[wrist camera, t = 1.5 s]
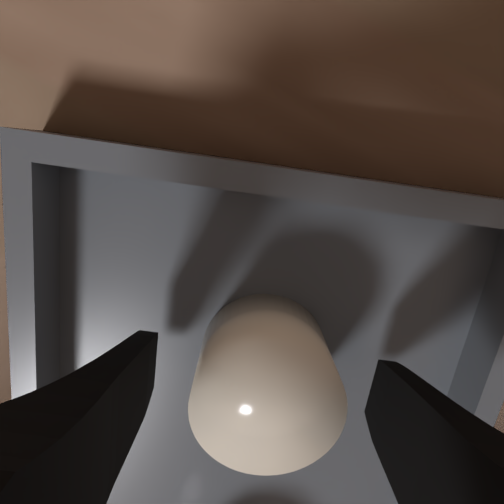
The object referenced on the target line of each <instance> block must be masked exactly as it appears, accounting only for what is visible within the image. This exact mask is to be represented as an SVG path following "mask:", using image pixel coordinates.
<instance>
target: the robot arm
mask: <svg viewBox="0 0 504 504" xmlns="http://www.w3.org/2000/svg"><path fill="white" fill-rule="evenodd" d="M157 344H158V332H151V331H142V330H139V331H137V332H136V333H134V334H132V335H131V336H130V337H128V338H127V339H125V340H124V341H122V342H121V343H119V344H118V345H116V346H115V347H113V348H112V349H110V350H109V351H107V352H106V353H104V354H102V355H101V356H99V357H98V358H96V359H94V360H93V361H91V362H89V363H87V364H86V365H84V366H82V367H81V368H79V369H77V370H75V371H74V372H72V373H70V374H68V375H66V376H64V377H62V378H60V379H58V380H56V381H54V382H52V383H50V384H48V385H46V386H43V387H41V388H39V389H37V390H35V391H32V392H30V393H27V394H25V395H22V396H19V397H17V398H14V399H12V400H9V401H6V402H4V403H1V404H0V504H107V501H108V499H109V496H110V494H111V491H112V489H113V486H114V484H115V482H116V479H117V477H118V475H119V473H120V471H121V469H122V466H123V464H124V462H125V460H126V458H127V455H128V453H129V451H130V449H131V447H132V444H133V442H134V440H135V438H136V436H137V433H138V431H139V429H140V427H141V424H142V422H143V420H144V418H145V415H146V412H147V409H148V406H149V402H150V399H151V396H152V393H153V389H154V382H155V369H156V357H157ZM364 413H365V417H366V421H367V425H368V429H369V432H370V435H371V439H372V442H373V445H374V447H375V450H376V452H377V455H378V457H379V459H380V462H381V464H382V467H383V469H384V471H385V474H386V476H387V479H388V481H389V483H390V486H391V488H392V490H393V493H394V495H395V498H396V500H397V502H398V504H504V433H502V432H500V431H499V430H497V429H495V428H494V427H492V426H490V425H489V424H487V423H486V422H484V421H483V420H481V419H480V418H478V417H477V416H475V415H474V414H472V413H470V412H469V411H467V410H466V409H464V408H463V407H462V406H460V405H459V404H457V403H456V402H454V401H453V400H451V399H450V398H449V397H447V396H446V395H444V394H443V393H442V392H440V391H439V390H437V389H436V388H435V387H433V386H432V385H431V384H429V383H428V382H426V381H425V380H424V379H422V378H421V377H419V376H418V375H417V374H415V373H414V372H412V371H411V370H409V369H408V368H406V367H405V366H403V365H402V364H400V363H398V362H396V361H388V360H379V359H378V363H377V366H376V370H375V374H374V377H373V381H372V385H371V388H370V392H369V396H368V400H367V403H366V407H365V411H364Z"/></svg>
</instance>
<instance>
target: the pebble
mask: <svg viewBox="0 0 504 504" xmlns="http://www.w3.org/2000/svg"><path fill="white" fill-rule="evenodd" d="M347 406H348V403H347V396H346V392H345V389H344V385H343V383H342V381H341V378H340V376H339V373H338V371H337V368H336V366H335V363H334V361H333V358H332V356H331V353H330V351H329V349H328V346H327V344H326V341H325V339H324V336H323V334H322V331H321V329H320V327H319V325H318V323H317V321H316V320H315V318H314V317H313V316H312V315H311V313H310V312H309V311H308V310H307V309H305V308H304V307H303V306H302V305H300V304H298V303H297V302H295V301H293V300H291V299H289V298H286V297H283V296H279V295H274V294H255V295H249V296H245V297H242V298H239V299H237V300H235V301H233V302H231V303H229V304H228V305H226V306H225V307H223V308H222V309H221V310H220V311H219V312H218V313H217V314H216V315H215V316H214V317H213V319H212V320H211V321H210V323H209V325H208V327H207V329H206V331H205V334H204V338H203V342H202V346H201V350H200V354H199V359H198V363H197V367H196V371H195V375H194V379H193V384H192V388H191V392H190V397H189V402H188V417H189V423H190V426H191V430H192V432H193V434H194V436H195V438H196V440H197V441H198V443H199V444H200V446H201V447H202V448H203V449H204V450H205V451H206V452H207V453H208V454H209V455H210V456H211V457H212V458H213V459H215V460H216V461H218V462H219V463H221V464H223V465H225V466H226V467H228V468H231V469H233V470H236V471H239V472H243V473H246V474H252V475H263V476H270V475H280V474H286V473H290V472H294V471H297V470H299V469H302V468H304V467H306V466H308V465H310V464H312V463H314V462H315V461H317V460H318V459H320V458H321V457H322V456H323V455H325V454H326V453H327V452H328V451H329V450H330V449H331V448H332V446H333V445H334V444H335V443H336V441H337V440H338V438H339V437H340V435H341V433H342V431H343V428H344V425H345V422H346V417H347Z"/></svg>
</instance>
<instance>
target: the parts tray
mask: <svg viewBox="0 0 504 504" xmlns="http://www.w3.org/2000/svg"><path fill="white" fill-rule="evenodd" d="M0 146H1V169H2V191H3V214H4V237H5V260H6V283H7V305H8V328H9V351H10V374H11V397H12V399H14V398H17V397H19V396H22V395H25V394H27V393H30V392H32V391H35V390H37V389H39V388H41V387H43V386H46V385H48V384H50V383H52V382H54V381H56V380H58V379H60V378H62V377H64V376H66V375H68V374H70V373H72V372H74V371H75V370H77V369H79V368H81V367H82V366H84V365H86V364H87V363H89V362H91V361H93V360H94V359H96V358H98V357H99V356H101V355H102V354H104V353H106V352H107V351H109V350H110V349H112V348H113V347H115V346H116V345H118V344H119V343H121V342H122V341H124V340H125V339H127V338H128V337H130V336H131V335H132V334H134V333H136V332H137V331H139V330H142V331H151V332H158V344H157V357H156V369H155V382H154V389H153V393H152V396H151V399H150V402H149V406H148V409H147V412H146V415H145V418H144V420H143V422H142V424H141V427H140V429H139V431H138V433H137V436H136V438H135V440H134V442H133V444H132V447H131V449H130V451H129V453H128V455H127V458H126V460H125V462H124V464H123V466H122V469H121V471H120V473H119V475H118V477H117V479H116V482H115V484H114V486H113V489H112V491H111V494H110V496H109V499H108V501H107V504H398V502H397V500H396V498H395V495H394V493H393V490H392V488H391V486H390V483H389V481H388V479H387V476H386V474H385V471H384V469H383V467H382V464H381V462H380V459H379V457H378V455H377V452H376V450H375V447H374V445H373V442H372V439H371V435H370V432H369V429H368V425H367V421H366V417H365V413H364V411H365V407H366V403H367V400H368V396H369V392H370V388H371V385H372V381H373V377H374V374H375V370H376V366H377V363H378V359H379V360H388V361H396V362H398V363H400V364H402V365H403V366H405V367H406V368H408V369H409V370H411V371H412V372H414V373H415V374H417V375H418V376H419V377H421V378H422V379H424V380H425V381H426V382H428V383H429V384H431V385H432V386H433V387H435V388H436V389H437V390H439V391H440V392H442V393H443V394H444V395H446V396H447V397H449V398H450V399H451V400H453V401H454V402H456V403H457V404H459V405H460V406H462V407H463V408H464V409H466V410H467V411H469V412H470V413H472V414H474V415H475V416H477V417H478V418H480V419H481V420H483V421H484V422H486V423H487V424H489V425H490V426H492V427H494V424H495V422H496V419H497V417H498V414H499V412H500V409H501V406H502V404H503V401H504V198H498V197H491V196H484V195H477V194H471V193H464V192H457V191H450V190H443V189H436V188H430V187H423V186H416V185H409V184H402V183H396V182H389V181H382V180H375V179H368V178H361V177H355V176H348V175H341V174H334V173H327V172H320V171H314V170H307V169H300V168H293V167H286V166H279V165H273V164H266V163H259V162H252V161H245V160H238V159H232V158H225V157H218V156H211V155H204V154H198V153H191V152H184V151H177V150H170V149H163V148H157V147H150V146H143V145H136V144H129V143H122V142H116V141H109V140H102V139H95V138H88V137H81V136H75V135H68V134H61V133H54V132H47V131H40V130H29V129H19V128H8V127H0ZM255 294H274V295H279V296H283V297H286V298H289V299H291V300H293V301H295V302H297V303H298V304H300V305H302V306H303V307H304V308H305V309H307V310H308V311H309V312H310V313H311V315H312V316H313V317H314V318H315V320H316V321H317V323H318V325H319V327H320V329H321V331H322V334H323V336H324V339H325V341H326V344H327V346H328V349H329V351H330V353H331V356H332V358H333V361H334V363H335V366H336V368H337V371H338V373H339V376H340V378H341V381H342V383H343V385H344V389H345V392H346V396H347V403H348V406H347V417H346V422H345V425H344V428H343V431H342V433H341V435H340V437H339V438H338V440H337V441H336V443H335V444H334V445H333V446H332V448H331V449H330V450H329V451H328V452H327V453H326V454H325V455H323V456H322V457H321V458H320V459H318V460H317V461H315V462H314V463H312V464H310V465H308V466H306V467H304V468H302V469H299V470H297V471H294V472H290V473H286V474H280V475H270V476H263V475H252V474H246V473H243V472H239V471H236V470H233V469H231V468H228V467H226V466H225V465H223V464H221V463H219V462H218V461H216V460H215V459H213V458H212V457H211V456H210V455H209V454H208V453H207V452H206V451H205V450H204V449H203V448H202V447H201V446H200V444H199V443H198V441H197V440H196V438H195V436H194V434H193V432H192V430H191V426H190V423H189V417H188V402H189V397H190V392H191V388H192V384H193V379H194V375H195V371H196V367H197V363H198V359H199V354H200V350H201V346H202V342H203V338H204V334H205V331H206V329H207V327H208V325H209V323H210V321H211V320H212V319H213V317H214V316H215V315H216V314H217V313H218V312H219V311H220V310H221V309H222V308H223V307H225V306H226V305H228V304H229V303H231V302H233V301H235V300H237V299H239V298H242V297H245V296H249V295H255Z"/></svg>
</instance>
